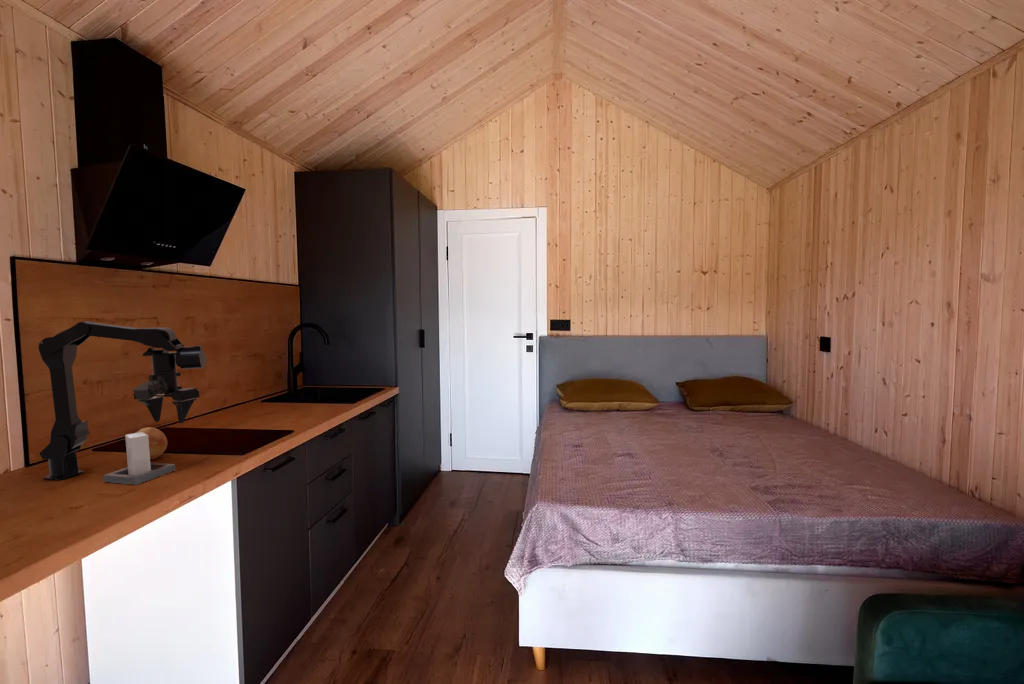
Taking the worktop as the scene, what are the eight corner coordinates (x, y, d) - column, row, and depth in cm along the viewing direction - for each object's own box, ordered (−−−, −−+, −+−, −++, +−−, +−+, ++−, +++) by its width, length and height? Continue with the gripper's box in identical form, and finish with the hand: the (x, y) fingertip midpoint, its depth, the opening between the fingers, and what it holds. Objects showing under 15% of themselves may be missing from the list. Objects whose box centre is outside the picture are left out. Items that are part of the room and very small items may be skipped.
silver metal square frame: (103, 482, 134) (103, 475, 133) (144, 468, 145) (144, 461, 144) (136, 485, 131) (135, 478, 130) (175, 470, 142) (174, 464, 141)
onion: (121, 464, 149) (118, 432, 148) (147, 454, 159) (144, 424, 158) (151, 464, 148) (148, 432, 147) (175, 454, 158) (173, 423, 157)
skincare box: (152, 476, 137) (148, 434, 136) (133, 481, 134) (129, 438, 133) (146, 472, 141) (142, 431, 140) (128, 476, 138) (124, 434, 137)
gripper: (112, 373, 139) (117, 427, 141) (163, 374, 134) (168, 430, 136) (150, 368, 150) (154, 418, 151) (199, 369, 145) (203, 420, 146)
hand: (169, 422), depth 146 cm, fingers open, 9 cm apart
